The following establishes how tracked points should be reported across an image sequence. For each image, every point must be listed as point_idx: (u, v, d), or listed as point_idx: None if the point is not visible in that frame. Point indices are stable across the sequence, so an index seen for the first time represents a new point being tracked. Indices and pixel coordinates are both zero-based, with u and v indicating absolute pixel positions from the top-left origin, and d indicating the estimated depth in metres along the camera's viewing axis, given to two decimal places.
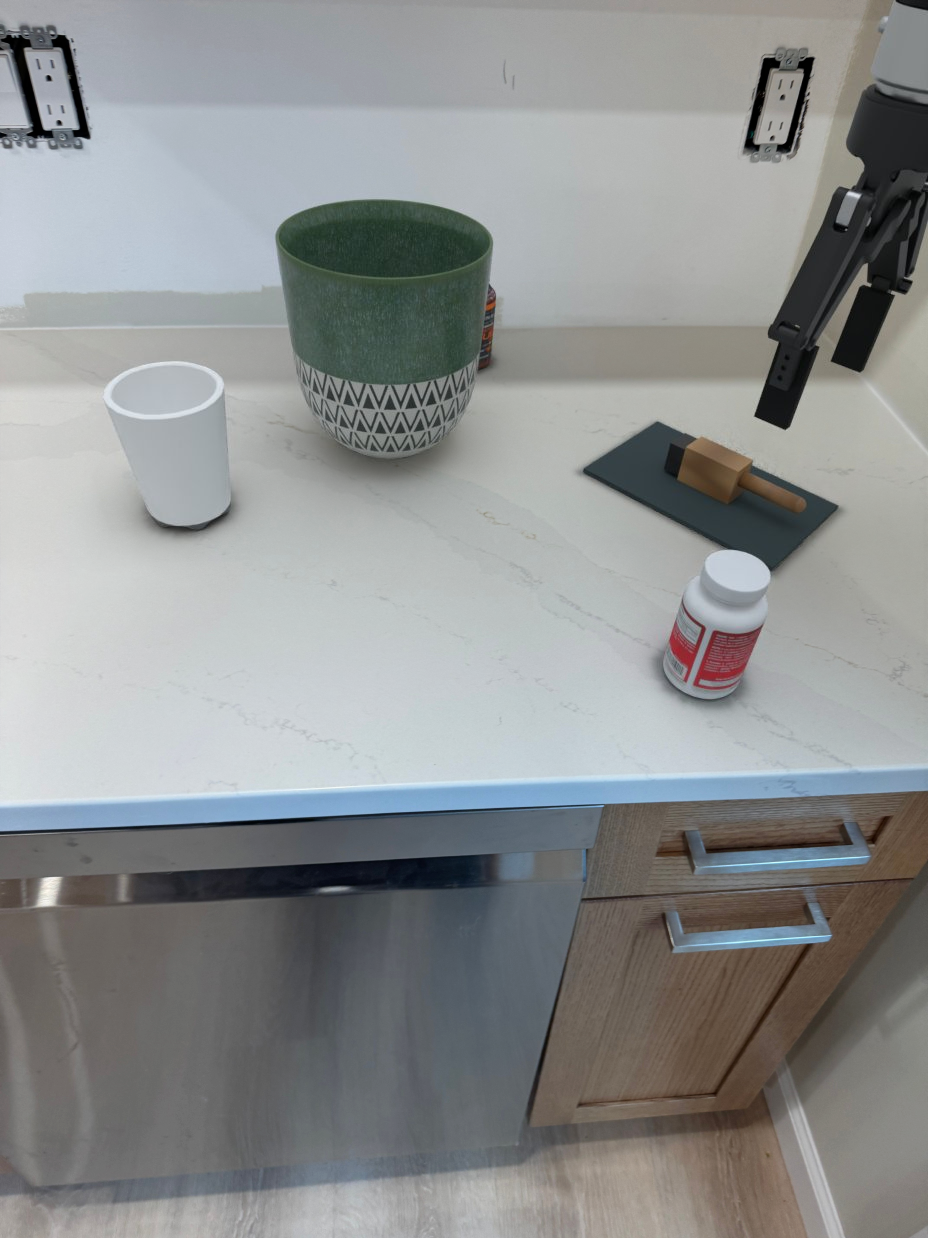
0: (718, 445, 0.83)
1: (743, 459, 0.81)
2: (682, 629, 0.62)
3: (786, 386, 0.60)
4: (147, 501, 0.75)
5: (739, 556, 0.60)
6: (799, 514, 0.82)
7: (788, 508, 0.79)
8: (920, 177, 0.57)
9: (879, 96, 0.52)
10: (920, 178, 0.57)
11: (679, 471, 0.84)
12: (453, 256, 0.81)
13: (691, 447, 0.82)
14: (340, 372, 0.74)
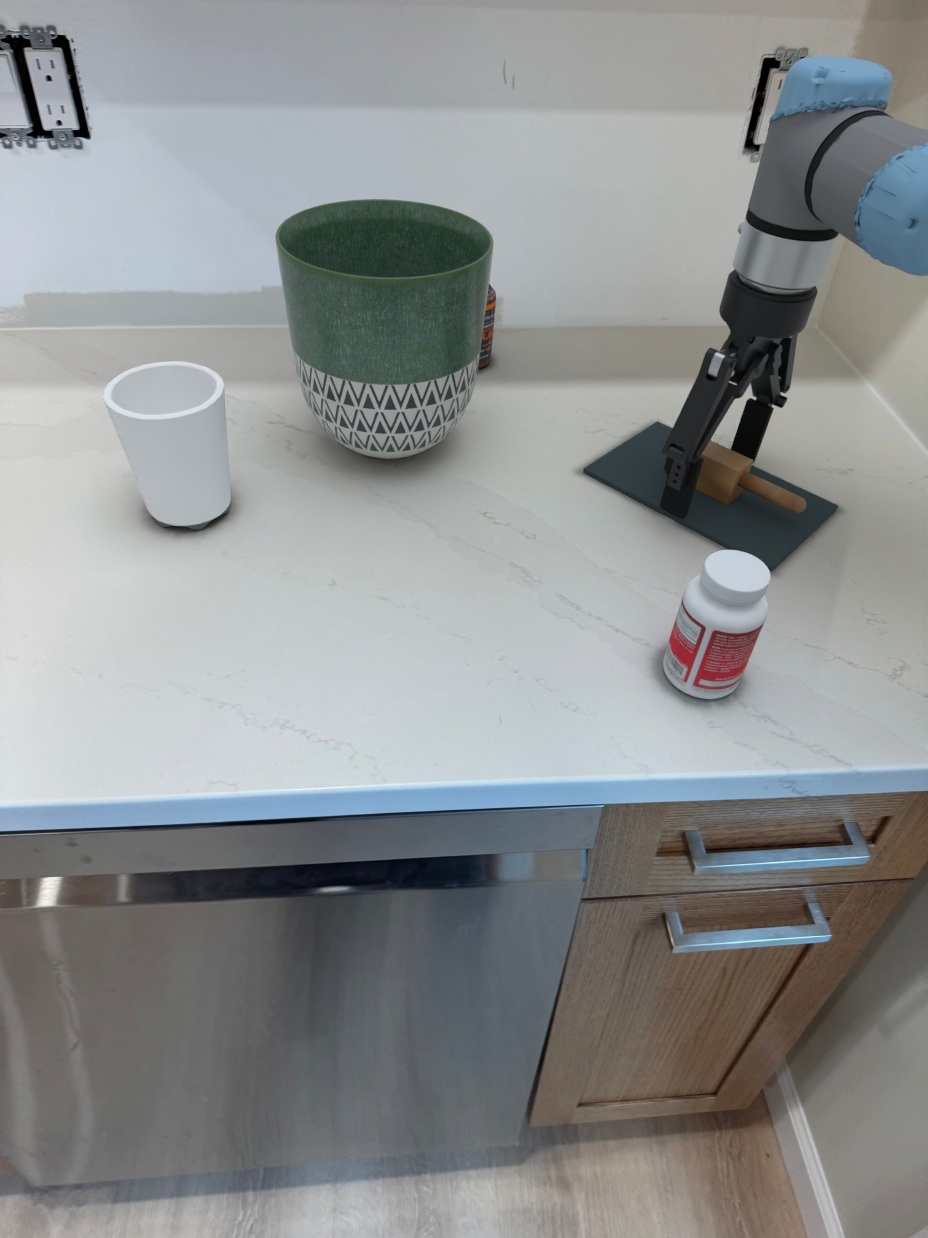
0: (718, 445, 0.83)
1: (743, 459, 0.81)
2: (682, 629, 0.62)
3: (679, 488, 0.77)
4: (147, 501, 0.75)
5: (739, 556, 0.60)
6: (799, 514, 0.82)
7: (788, 508, 0.79)
8: None
9: (737, 283, 0.69)
10: None
11: None
12: (453, 256, 0.81)
13: None
14: (340, 372, 0.74)
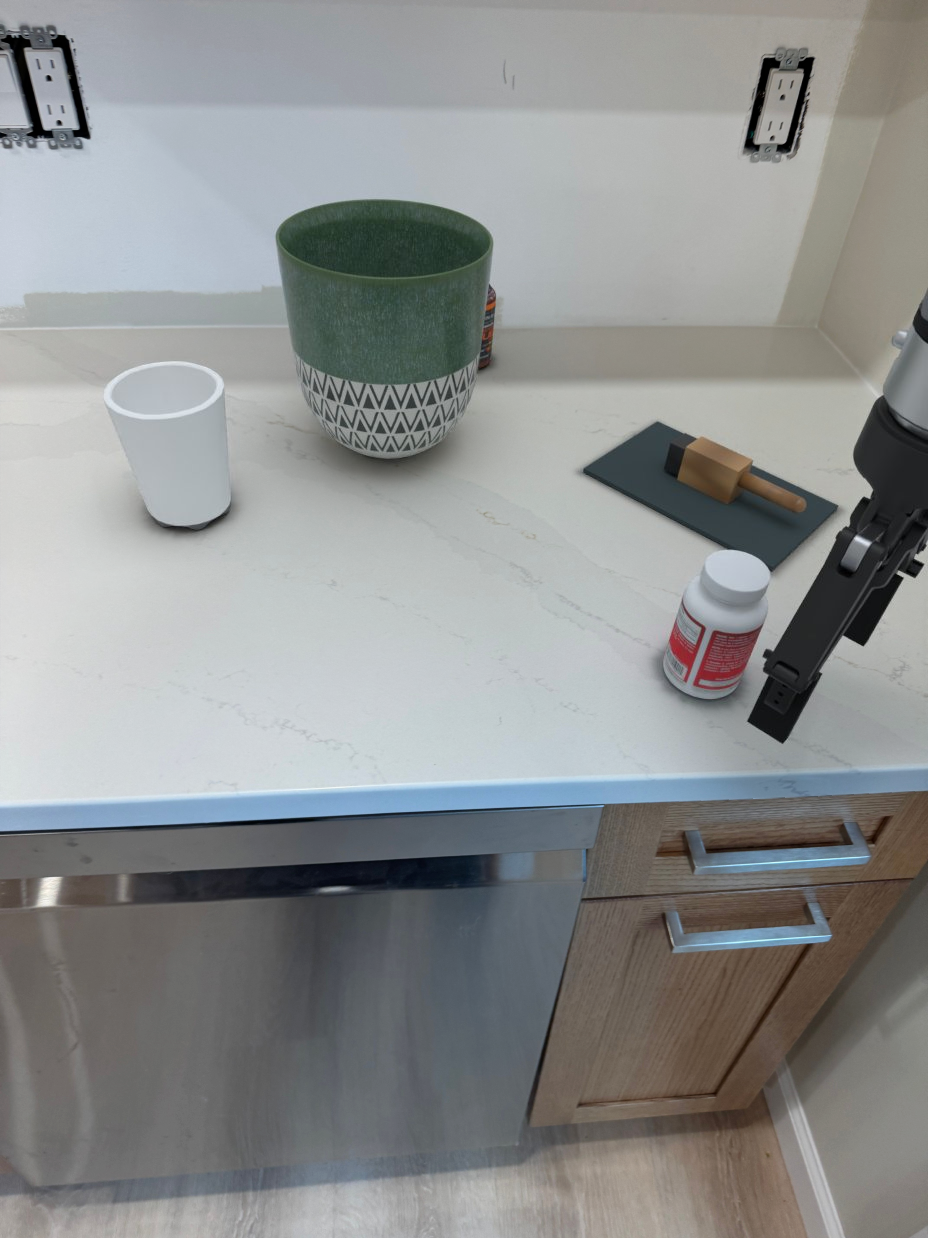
0: (718, 445, 0.83)
1: (743, 459, 0.81)
2: (682, 629, 0.62)
3: (784, 711, 0.52)
4: (147, 501, 0.75)
5: (739, 556, 0.60)
6: (799, 514, 0.82)
7: (788, 508, 0.79)
8: None
9: (893, 427, 0.43)
10: None
11: (679, 471, 0.84)
12: (453, 256, 0.81)
13: (691, 447, 0.82)
14: (340, 372, 0.74)
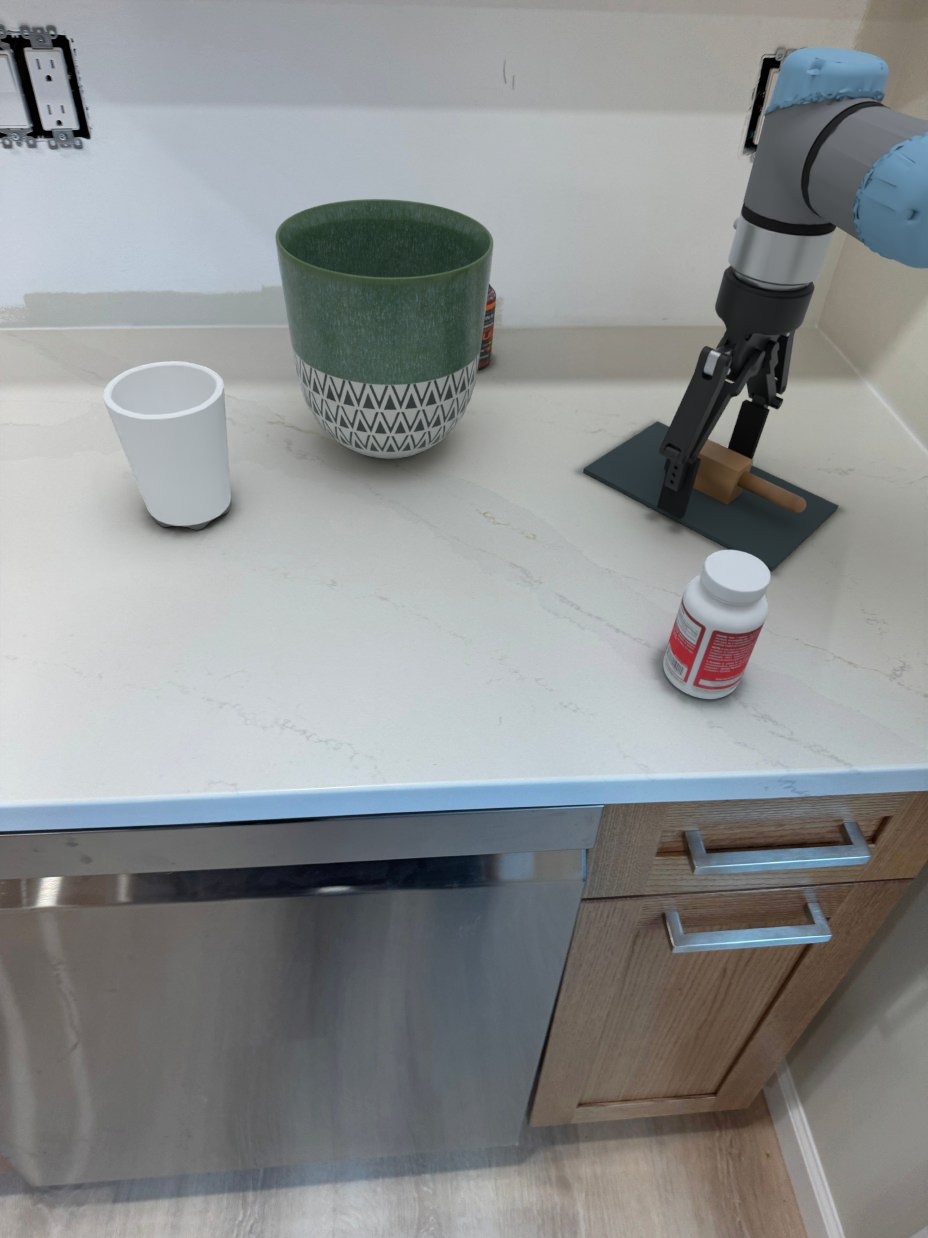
0: (718, 445, 0.83)
1: (743, 459, 0.81)
2: (682, 629, 0.62)
3: (677, 488, 0.76)
4: (147, 501, 0.75)
5: (739, 556, 0.60)
6: (799, 514, 0.82)
7: (788, 508, 0.79)
8: None
9: (733, 279, 0.68)
10: None
11: None
12: (453, 256, 0.81)
13: None
14: (340, 372, 0.74)
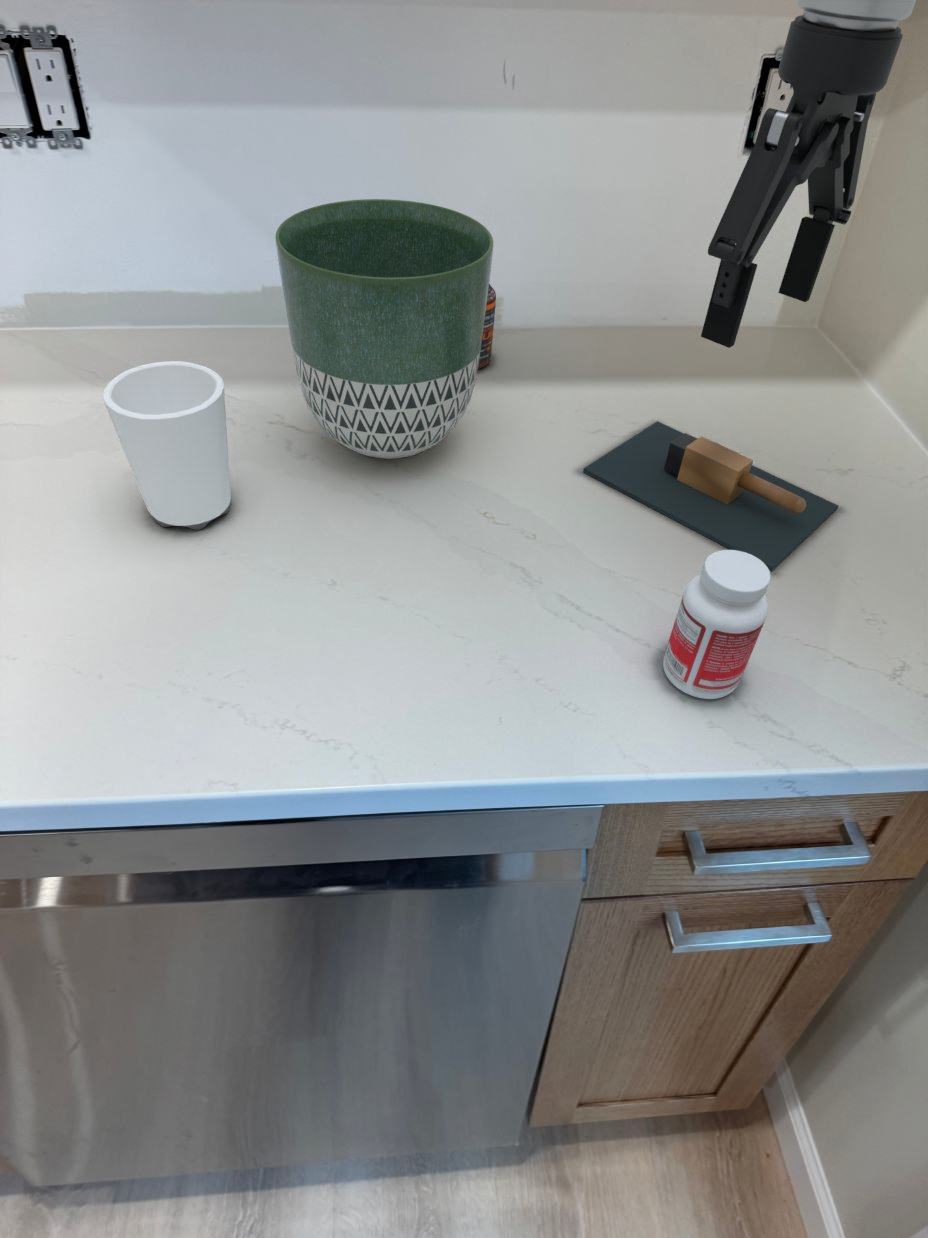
0: (718, 445, 0.83)
1: (743, 459, 0.81)
2: (682, 629, 0.62)
3: (727, 303, 0.64)
4: (147, 501, 0.75)
5: (739, 556, 0.60)
6: (799, 514, 0.82)
7: (788, 508, 0.79)
8: (849, 104, 0.61)
9: (804, 23, 0.56)
10: (849, 105, 0.61)
11: (679, 471, 0.84)
12: (453, 256, 0.81)
13: (691, 447, 0.82)
14: (340, 372, 0.74)
